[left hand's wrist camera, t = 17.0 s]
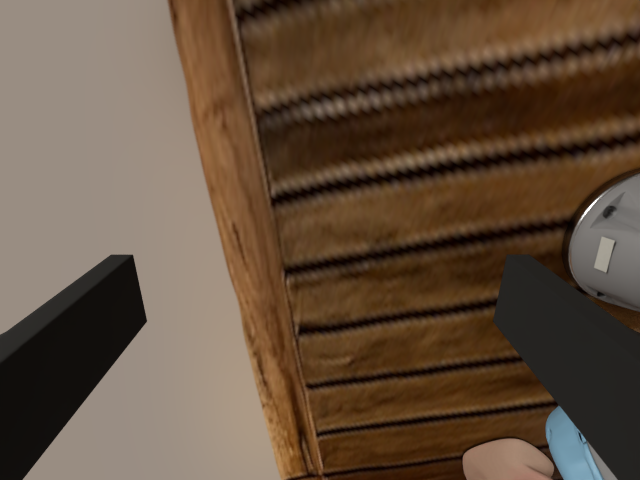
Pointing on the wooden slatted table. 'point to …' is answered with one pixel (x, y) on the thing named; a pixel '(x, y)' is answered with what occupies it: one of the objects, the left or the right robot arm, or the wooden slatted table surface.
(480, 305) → the wooden slatted table surface
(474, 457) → the anatomical model
